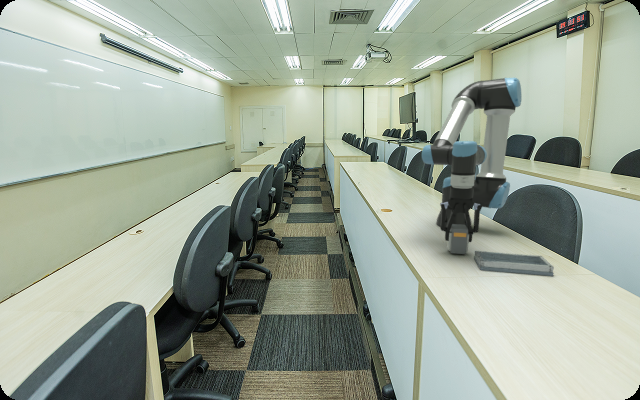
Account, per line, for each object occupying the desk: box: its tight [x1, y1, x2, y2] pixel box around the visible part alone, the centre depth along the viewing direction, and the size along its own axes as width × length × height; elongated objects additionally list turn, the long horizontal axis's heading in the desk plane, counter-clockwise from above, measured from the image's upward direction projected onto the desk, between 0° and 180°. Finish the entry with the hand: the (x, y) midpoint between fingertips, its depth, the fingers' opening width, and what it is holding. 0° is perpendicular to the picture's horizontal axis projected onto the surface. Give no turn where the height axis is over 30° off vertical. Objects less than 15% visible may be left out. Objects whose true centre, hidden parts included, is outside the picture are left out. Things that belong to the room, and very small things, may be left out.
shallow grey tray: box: [473, 250, 555, 277], centre depth 103 cm, size 10×20×3 cm, turn 75°
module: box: [449, 224, 468, 255], centre depth 114 cm, size 6×5×9 cm
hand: (457, 249), depth 115 cm, fingers closed on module, 5 cm apart
